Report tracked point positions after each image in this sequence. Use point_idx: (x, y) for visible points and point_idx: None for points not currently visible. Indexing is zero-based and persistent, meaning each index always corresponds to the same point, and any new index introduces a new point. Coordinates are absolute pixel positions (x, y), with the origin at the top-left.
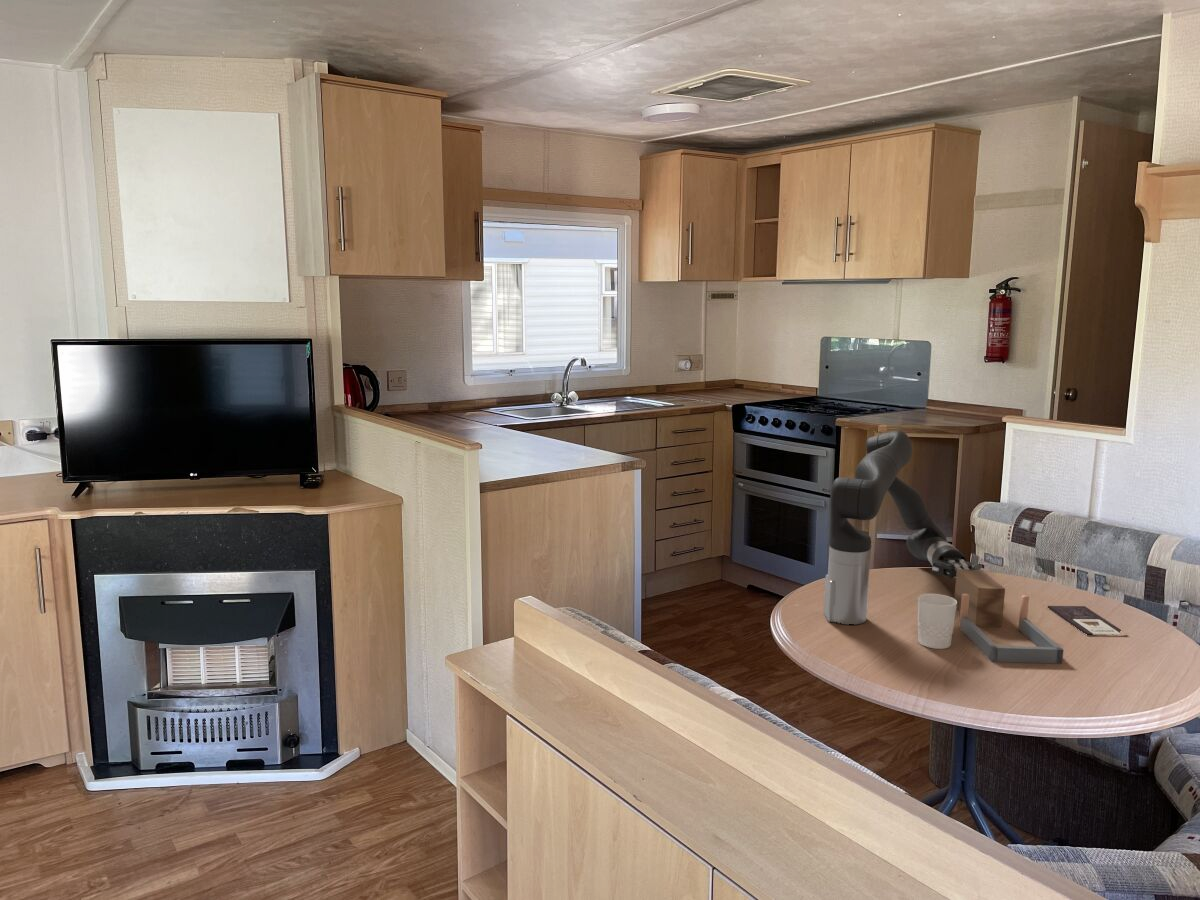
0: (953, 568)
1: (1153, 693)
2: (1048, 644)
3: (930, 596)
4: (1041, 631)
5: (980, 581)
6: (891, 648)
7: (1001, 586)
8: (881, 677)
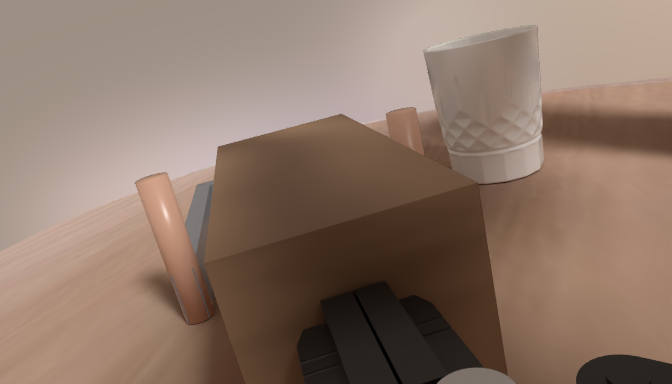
0: (594, 379)
1: (113, 208)
2: (210, 200)
3: (509, 44)
4: (188, 219)
5: (311, 143)
6: (584, 130)
7: (222, 150)
8: (545, 98)
